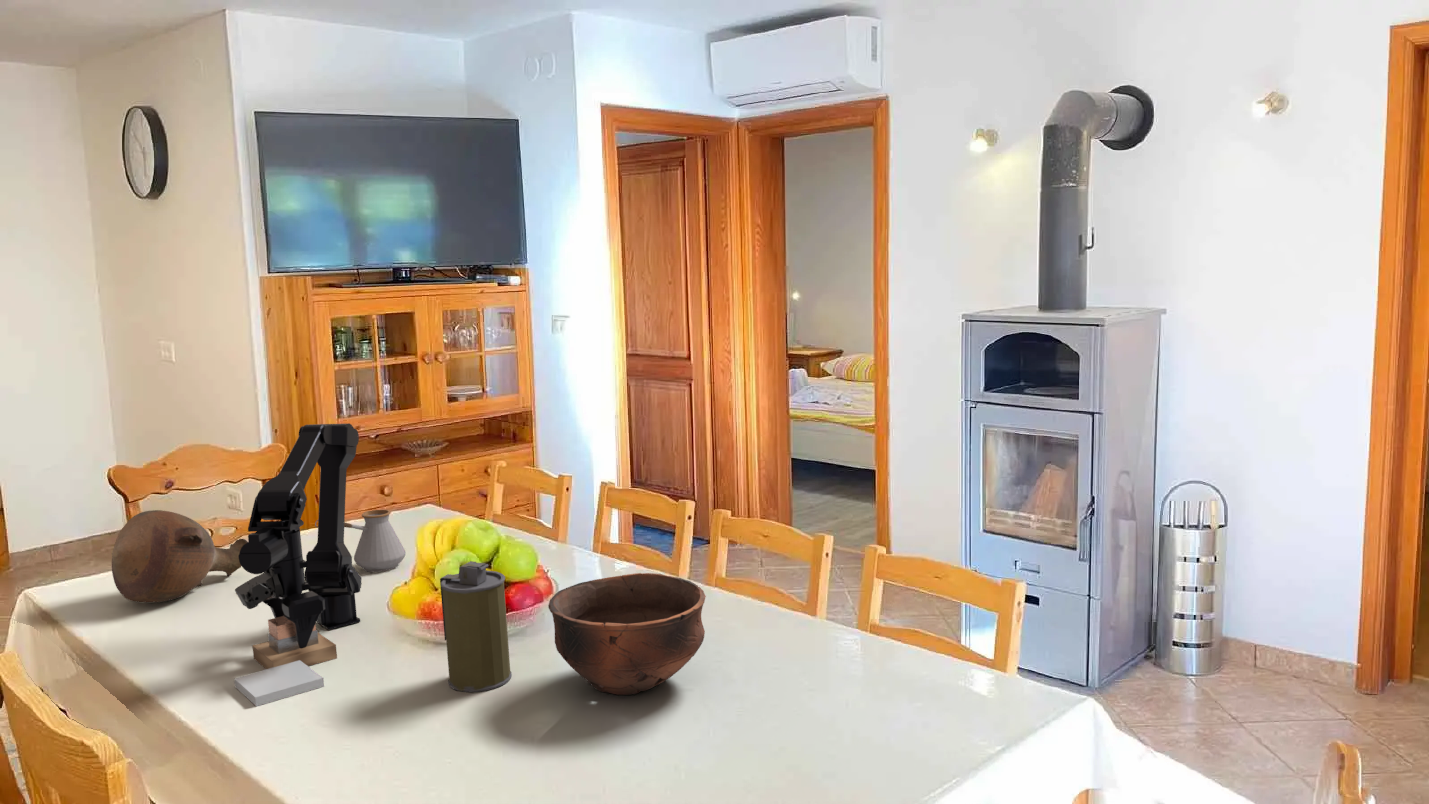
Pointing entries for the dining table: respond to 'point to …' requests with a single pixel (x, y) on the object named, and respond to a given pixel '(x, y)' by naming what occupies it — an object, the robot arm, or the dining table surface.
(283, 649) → the housing
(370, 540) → the coffee pot
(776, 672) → the dining table surface
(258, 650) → the walnut plinth
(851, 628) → the dining table surface
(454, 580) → the canister
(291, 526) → the robot arm
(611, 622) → the bowl
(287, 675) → the ceramic tile
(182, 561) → the jug
